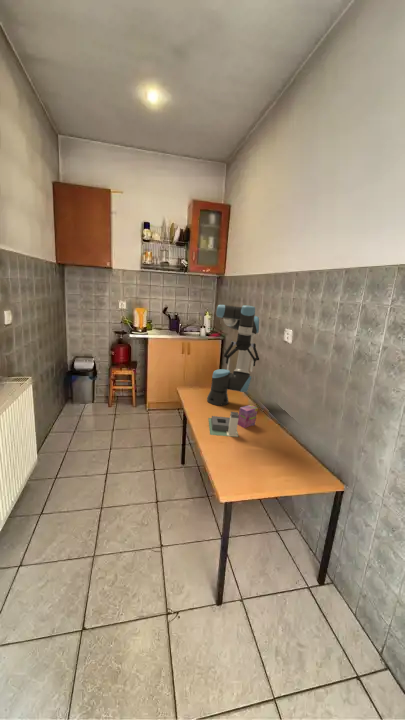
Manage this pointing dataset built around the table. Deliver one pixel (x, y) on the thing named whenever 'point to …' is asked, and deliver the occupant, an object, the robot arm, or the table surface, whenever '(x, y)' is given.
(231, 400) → the table surface
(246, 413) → the box
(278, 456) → the table surface
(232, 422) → the plug
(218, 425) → the board
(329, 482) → the table surface
